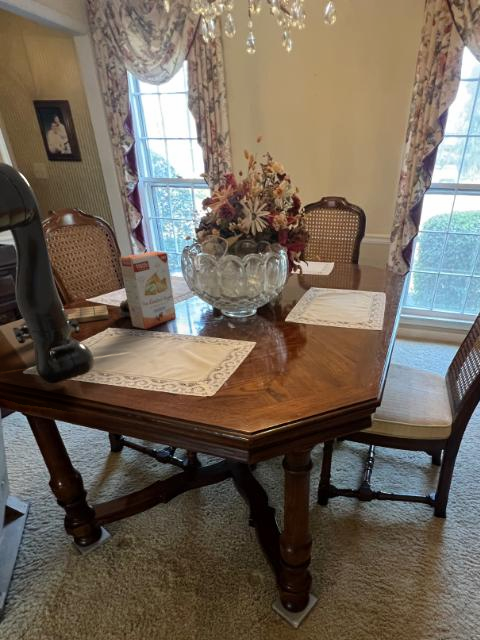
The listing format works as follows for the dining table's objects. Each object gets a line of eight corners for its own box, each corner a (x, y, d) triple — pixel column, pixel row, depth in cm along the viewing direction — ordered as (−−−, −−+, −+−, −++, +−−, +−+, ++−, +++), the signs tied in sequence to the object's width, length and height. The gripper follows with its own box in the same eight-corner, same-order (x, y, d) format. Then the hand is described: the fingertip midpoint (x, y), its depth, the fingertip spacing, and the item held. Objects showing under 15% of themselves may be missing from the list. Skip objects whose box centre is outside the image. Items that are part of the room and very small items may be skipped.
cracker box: (146, 330, 116) (132, 258, 106) (132, 327, 118) (116, 256, 108) (177, 317, 127) (167, 251, 117) (164, 315, 129) (152, 250, 119)
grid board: (54, 325, 119) (52, 320, 119) (55, 315, 129) (54, 310, 128) (109, 318, 126) (108, 313, 125) (106, 309, 135) (105, 304, 134)
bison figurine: (116, 318, 125) (109, 288, 121) (129, 312, 131) (123, 283, 126) (148, 322, 123) (142, 290, 118) (160, 315, 129) (155, 285, 124)
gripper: (81, 319, 93) (69, 305, 105) (12, 331, 86) (7, 314, 97) (89, 348, 97) (77, 330, 108) (24, 361, 90) (17, 341, 101)
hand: (44, 323), depth 103 cm, fingers open, 8 cm apart
